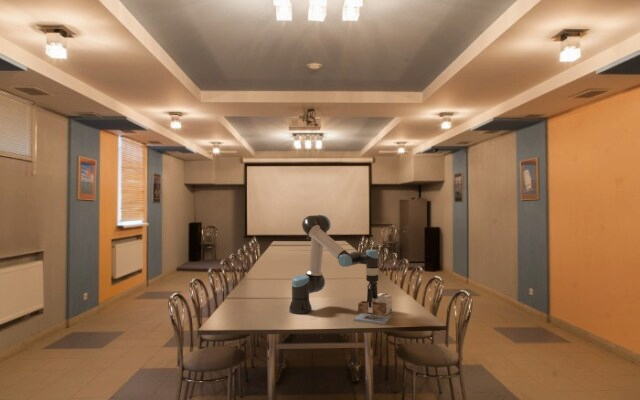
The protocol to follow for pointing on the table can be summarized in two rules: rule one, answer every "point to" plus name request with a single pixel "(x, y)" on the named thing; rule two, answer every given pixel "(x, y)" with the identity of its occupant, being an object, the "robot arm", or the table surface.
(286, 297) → the table surface
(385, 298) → the ink box
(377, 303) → the hollow block
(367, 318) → the post board
